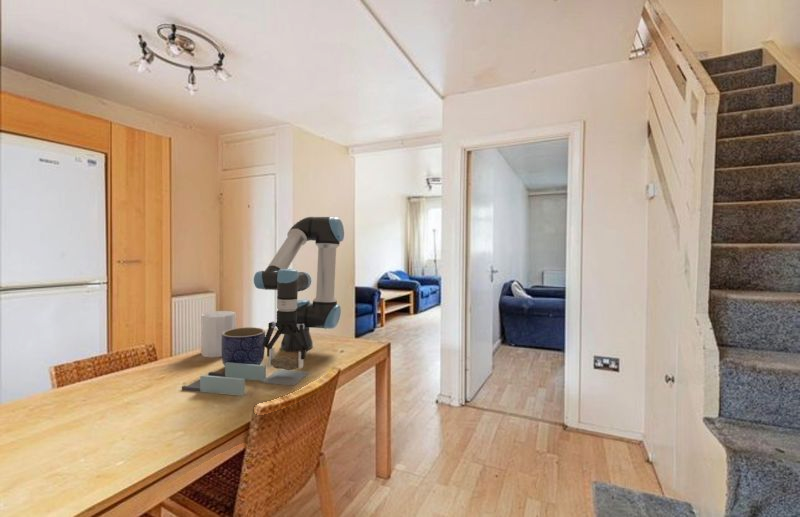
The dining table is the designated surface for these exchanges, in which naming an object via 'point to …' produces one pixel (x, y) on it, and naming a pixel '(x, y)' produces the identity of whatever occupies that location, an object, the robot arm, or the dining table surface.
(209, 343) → the container
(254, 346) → the planter
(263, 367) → the trough
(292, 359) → the rock
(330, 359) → the dining table surface
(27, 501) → the dining table surface
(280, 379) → the pad
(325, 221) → the robot arm
